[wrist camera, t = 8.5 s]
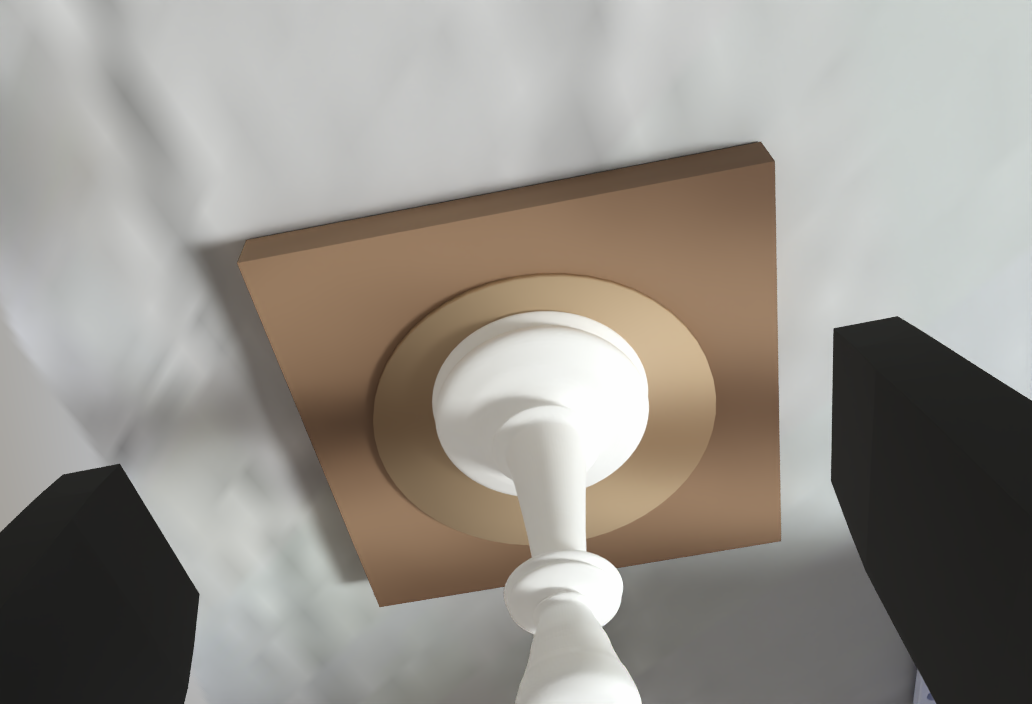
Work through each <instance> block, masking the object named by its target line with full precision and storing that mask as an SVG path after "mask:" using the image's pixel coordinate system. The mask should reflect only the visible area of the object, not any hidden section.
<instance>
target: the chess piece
mask: <svg viewBox="0 0 1032 704" xmlns="http://www.w3.org/2000/svg"><path fill="white" fill-rule="evenodd" d="M432 408H433V415H434V419H435V424H436V430H437V434H438V438H439V440H440V443H441V445H442V447H443V449H444V451H445V453H446V454H447V456H448V457H449V459H450V460H451V461H452V462H453V464H454V465H455V466H456V467H457V468H458V469H459V470H460V471H461V472H463V473H464V474H465V475H466V476H468V477H469V478H471V479H472V480H474V481H475V482H477V483H479V484H481V485H483V486H485V487H487V488H489V489H492V490H495V491H498V492H501V493H505V494H509V495H514V496H518V500H519V504H520V508H521V512H522V515H523V520H524V524H525V528H526V532H527V536H528V541H529V546H530V551H531V556H532V558H530V559H529V560H527V561H525V562H524V563H522V564H521V565H520V566H518V567H517V568H516V569H515V570H514V571H513V572H512V574H511V575H510V576H509V578H508V580H507V582H506V584H505V588H504V601H505V604H506V607H507V608H508V610H509V613H510V615H511V617H512V619H513V620H514V621H515V623H516V624H517V625H519V626H520V627H521V628H522V629H524V630H525V631H527V632H529V633H532V634H534V638H533V641H532V644H531V648H530V655H529V660H528V663H527V667H526V670H525V673H524V675H523V678H522V680H521V682H520V686H519V689H518V693H517V697H516V701H515V704H642V703H641V697H640V694H639V692H638V689H637V687H636V685H635V683H634V681H633V679H632V678H631V676H630V674H629V672H628V670H627V669H626V668H625V666H624V665H623V664H622V663H621V661H620V659H619V658H618V656H617V654H616V653H615V651H614V649H613V647H612V645H611V642H610V640H609V638H608V636H607V634H606V632H605V631H604V629H603V628H602V626H604V625H605V624H607V623H608V622H609V621H610V620H611V619H612V618H613V617H614V615H615V614H616V613H617V611H618V609H619V607H620V603H621V597H622V593H623V582H622V578H621V575H620V573H619V572H618V570H617V569H616V568H615V566H614V565H613V564H611V563H610V562H609V561H607V560H606V559H605V558H603V557H601V556H599V555H596V554H593V553H590V552H586V488H587V487H589V486H591V485H593V484H595V483H597V482H599V481H601V480H603V479H604V478H606V477H607V476H609V475H610V474H612V473H613V472H614V471H616V470H617V469H618V468H619V467H620V466H622V465H623V464H624V463H625V462H626V461H627V459H628V458H629V457H630V456H631V455H632V453H633V452H634V451H635V449H636V448H637V446H638V444H639V443H640V441H641V439H642V437H643V434H644V432H645V429H646V425H647V421H648V414H649V400H648V383H647V377H646V373H645V370H644V367H643V365H642V363H641V361H640V359H639V357H638V355H637V354H636V352H635V351H634V350H633V348H632V347H631V346H630V345H629V344H628V343H627V342H626V341H625V340H624V339H623V338H622V337H621V336H620V335H619V334H617V333H616V332H615V331H613V330H612V329H610V328H609V327H607V326H605V325H603V324H601V323H599V322H597V321H595V320H592V319H590V318H587V317H584V316H580V315H576V314H572V313H566V312H558V311H534V312H526V313H520V314H515V315H511V316H508V317H504V318H502V319H499V320H496V321H494V322H491V323H489V324H487V325H485V326H483V327H482V328H480V329H478V330H476V331H475V332H473V333H472V334H470V335H469V336H468V337H466V338H465V339H464V340H463V341H462V342H461V343H459V344H458V345H457V346H456V347H455V348H454V350H453V351H452V352H451V353H450V354H449V356H448V357H447V358H446V360H445V361H444V363H443V365H442V366H441V368H440V370H439V373H438V375H437V378H436V380H435V384H434V388H433V395H432Z"/></svg>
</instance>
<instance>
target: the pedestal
mask: <svg viewBox="0 0 1032 704" xmlns="http://www.w3.org/2000/svg"><path fill="white" fill-rule="evenodd" d="M237 264H238V267H239V269H240V271H241V274H242V276H243V279H244V281H245V283H246V286H247V288H248V291H249V293H250V295H251V298H252V300H253V303H254V305H255V308H256V310H257V312H258V315H259V317H260V320H261V322H262V324H263V327H264V329H265V332H266V334H267V337H268V339H269V341H270V344H271V346H272V349H273V351H274V353H275V356H276V358H277V361H278V363H279V365H280V368H281V370H282V373H283V375H284V378H285V380H286V382H287V385H288V387H289V390H290V392H291V394H292V397H293V399H294V402H295V404H296V406H297V409H298V411H299V414H300V416H301V419H302V421H303V423H304V426H305V428H306V431H307V433H308V435H309V438H310V440H311V443H312V445H313V447H314V450H315V452H316V455H317V457H318V460H319V462H320V464H321V467H322V469H323V472H324V474H325V476H326V479H327V481H328V484H329V486H330V488H331V491H332V493H333V496H334V498H335V501H336V503H337V505H338V508H339V510H340V513H341V515H342V517H343V520H344V522H345V525H346V527H347V529H348V532H349V534H350V537H351V539H352V542H353V544H354V546H355V549H356V551H357V554H358V556H359V558H360V561H361V563H362V566H363V568H364V570H365V573H366V575H367V578H368V580H369V583H370V585H371V587H372V590H373V592H374V595H375V597H376V599H377V602H378V604H379V607H383V606H389V605H396V604H402V603H408V602H414V601H420V600H426V599H432V598H438V597H444V596H450V595H456V594H462V593H468V592H475V591H481V590H487V589H493V588H499V587H505V584H506V582H507V580H508V578H509V576H510V575H511V574H512V572H513V571H514V570H515V569H516V568H517V567H518V566H520V565H521V564H522V563H524V562H525V561H527V560H529V559H530V558H532V556H531V551H530V546H529V541H528V536H527V532H526V528H525V524H524V520H523V515H522V512H521V508H520V504H519V500H518V496H514V495H509V494H505V493H501V492H498V491H495V490H492V489H489V488H487V487H485V486H483V485H481V484H479V483H477V482H475V481H474V480H472V479H471V478H469V477H468V476H466V475H465V474H464V473H463V472H461V471H460V470H459V469H458V468H457V467H456V466H455V465H454V464H453V462H452V461H451V460H450V459H449V457H448V456H447V454H446V453H445V451H444V449H443V447H442V445H441V443H440V440H439V438H438V434H437V430H436V424H435V419H434V415H433V408H432V395H433V388H434V384H435V380H436V378H437V375H438V373H439V370H440V368H441V366H442V365H443V363H444V361H445V360H446V358H447V357H448V356H449V354H450V353H451V352H452V351H453V350H454V348H455V347H456V346H457V345H458V344H459V343H461V342H462V341H463V340H464V339H465V338H466V337H468V336H469V335H470V334H472V333H473V332H475V331H476V330H478V329H480V328H482V327H483V326H485V325H487V324H489V323H491V322H494V321H496V320H499V319H502V318H504V317H508V316H511V315H515V314H520V313H526V312H534V311H558V312H566V313H572V314H576V315H580V316H584V317H587V318H590V319H592V320H595V321H597V322H599V323H601V324H603V325H605V326H607V327H609V328H610V329H612V330H613V331H615V332H616V333H617V334H619V335H620V336H621V337H622V338H623V339H624V340H625V341H626V342H627V343H628V344H629V345H630V346H631V347H632V348H633V350H634V351H635V352H636V354H637V355H638V357H639V359H640V361H641V363H642V365H643V367H644V370H645V373H646V377H647V383H648V400H649V414H648V421H647V425H646V429H645V432H644V434H643V437H642V439H641V441H640V443H639V444H638V446H637V448H636V449H635V451H634V452H633V453H632V455H631V456H630V457H629V458H628V459H627V461H626V462H625V463H624V464H623V465H622V466H620V467H619V468H618V469H617V470H616V471H614V472H613V473H612V474H610V475H609V476H607V477H606V478H604V479H603V480H601V481H599V482H597V483H595V484H593V485H591V486H589V487H587V488H586V552H590V553H593V554H596V555H599V556H601V557H603V558H605V559H606V560H607V561H609V562H610V563H611V564H613V565H614V566H615V568H620V567H626V566H633V565H639V564H645V563H651V562H657V561H663V560H669V559H675V558H681V557H687V556H693V555H699V554H706V553H712V552H718V551H724V550H730V549H736V548H742V547H748V546H754V545H760V544H766V543H772V542H778V541H781V506H780V445H779V385H778V325H777V265H776V205H775V161H774V159H773V158H772V157H771V155H770V154H769V152H768V151H767V150H766V148H765V147H764V145H763V144H762V143H761V142H757V143H752V144H746V145H741V146H736V147H731V148H726V149H720V150H715V151H710V152H705V153H699V154H694V155H689V156H684V157H678V158H673V159H668V160H663V161H658V162H652V163H647V164H642V165H637V166H631V167H626V168H621V169H616V170H610V171H605V172H600V173H595V174H589V175H584V176H579V177H574V178H569V179H563V180H558V181H553V182H548V183H542V184H537V185H532V186H527V187H521V188H516V189H511V190H506V191H501V192H495V193H490V194H485V195H480V196H474V197H469V198H464V199H459V200H453V201H448V202H443V203H438V204H432V205H427V206H422V207H417V208H412V209H406V210H401V211H396V212H391V213H385V214H380V215H375V216H370V217H364V218H359V219H354V220H349V221H344V222H338V223H333V224H328V225H323V226H317V227H312V228H307V229H302V230H296V231H291V232H286V233H281V234H276V235H270V236H265V237H260V238H255V239H249V240H246V242H245V245H244V247H243V250H242V252H241V255H240V257H239V260H238V262H237Z"/></svg>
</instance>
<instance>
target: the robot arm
mask: <svg viewBox="0 0 1032 704" xmlns="http://www.w3.org/2000/svg"><path fill="white" fill-rule="evenodd" d="M831 482H832V485H833V487H834V490H835V493H836V495H837V498H838V501H839V504H840V506H841V509H842V512H843V514H844V517H845V520H846V522H847V525H848V528H849V530H850V533H851V535H852V538H853V540H854V543H855V545H856V548H857V550H858V553H859V555H860V558H861V561H862V563H863V566H864V568H865V571H866V573H867V574H868V576H869V578H870V580H871V582H872V584H873V586H874V588H875V590H876V592H877V594H878V596H879V598H880V599H881V601H882V603H883V605H884V607H885V609H886V611H887V613H888V615H889V616H890V618H891V620H892V622H893V624H894V626H895V628H896V630H897V631H898V633H899V635H900V637H901V639H902V641H903V643H904V645H905V647H906V648H907V650H908V652H909V654H910V656H911V658H912V660H913V661H914V663H915V665H916V667H917V676H916V684H915V692H914V700H913V704H1032V401H1031V400H1030V399H1028V398H1027V397H1025V396H1023V395H1022V394H1020V393H1018V392H1017V391H1015V390H1014V389H1012V388H1011V387H1009V386H1007V385H1006V384H1004V383H1003V382H1001V381H999V380H998V379H996V378H995V377H993V376H992V375H990V374H988V373H987V372H985V371H984V370H982V369H980V368H979V367H977V366H976V365H974V364H973V363H971V362H970V361H968V360H966V359H965V358H963V357H962V356H960V355H959V354H957V353H955V352H954V351H952V350H951V349H949V348H948V347H946V346H945V345H943V344H941V343H940V342H938V341H937V340H935V339H934V338H932V337H930V336H929V335H927V334H926V333H924V332H923V331H921V330H919V329H918V328H916V327H915V326H913V325H911V324H910V323H908V322H906V321H905V320H903V319H901V318H900V317H898V316H897V317H891V318H886V319H881V320H876V321H870V322H865V323H860V324H854V325H849V326H844V327H839V328H834V334H833V395H832V456H831ZM198 603H199V593H198V591H197V589H196V588H195V586H194V584H193V583H192V581H191V580H190V578H189V576H188V575H187V573H186V571H185V570H184V568H183V566H182V565H181V563H180V562H179V560H178V558H177V557H176V555H175V553H174V552H173V550H172V548H171V547H170V545H169V544H168V542H167V540H166V539H165V537H164V535H163V534H162V532H161V530H160V529H159V527H158V525H157V524H156V522H155V521H154V519H153V517H152V516H151V514H150V512H149V511H148V509H147V507H146V506H145V504H144V503H143V501H142V499H141V498H140V496H139V494H138V493H137V491H136V489H135V488H134V486H133V484H132V483H131V481H130V480H129V478H128V476H127V475H126V473H125V471H124V470H123V468H122V466H121V465H120V464H116V465H111V466H106V467H101V468H96V469H90V470H85V471H79V472H75V473H69V474H64V475H62V476H61V477H60V478H59V479H57V480H56V481H55V482H54V483H53V484H52V485H51V486H49V487H48V488H47V489H46V490H45V491H43V492H42V493H41V494H40V495H39V496H38V497H37V498H36V499H35V500H34V501H33V502H31V503H30V504H29V506H27V507H26V508H25V509H24V510H23V511H22V512H21V513H20V514H19V515H18V516H17V517H16V518H15V519H14V520H13V521H12V522H11V523H9V524H8V525H7V527H5V528H4V530H2V531H1V532H0V704H184V701H185V697H186V693H187V689H188V683H189V676H190V670H191V663H192V656H193V649H194V641H195V631H196V622H197V612H198Z"/></svg>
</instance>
